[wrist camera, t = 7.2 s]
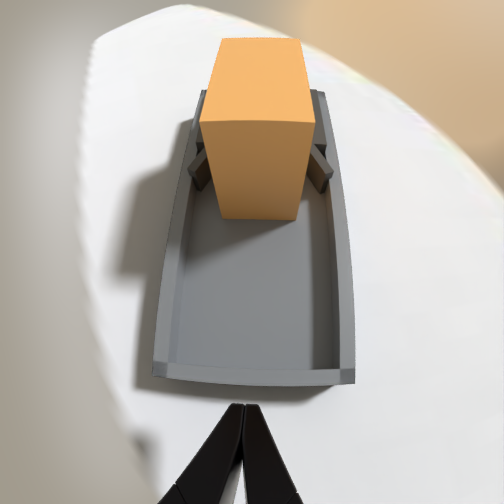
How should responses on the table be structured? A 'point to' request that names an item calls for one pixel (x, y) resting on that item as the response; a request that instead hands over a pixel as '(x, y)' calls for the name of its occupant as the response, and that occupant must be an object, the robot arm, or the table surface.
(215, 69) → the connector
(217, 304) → the tray
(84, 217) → the table surface
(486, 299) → the table surface
